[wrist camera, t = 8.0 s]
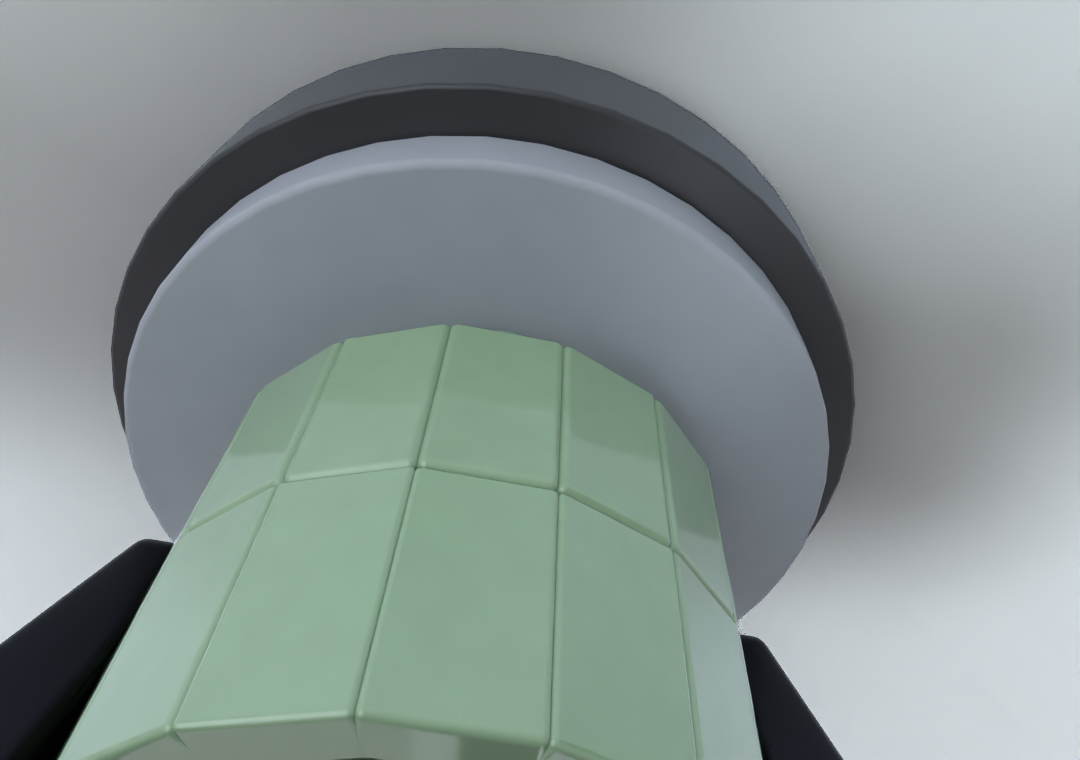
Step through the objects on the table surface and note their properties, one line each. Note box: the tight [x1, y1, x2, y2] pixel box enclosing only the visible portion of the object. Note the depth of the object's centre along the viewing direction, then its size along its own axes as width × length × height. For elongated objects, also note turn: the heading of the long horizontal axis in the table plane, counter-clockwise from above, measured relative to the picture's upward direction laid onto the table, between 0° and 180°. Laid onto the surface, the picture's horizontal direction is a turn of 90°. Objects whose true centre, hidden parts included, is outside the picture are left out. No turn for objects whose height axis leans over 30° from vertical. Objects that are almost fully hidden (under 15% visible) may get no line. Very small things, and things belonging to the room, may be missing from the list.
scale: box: [111, 48, 855, 621], centre depth 11 cm, size 10×10×2 cm
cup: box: [55, 324, 763, 760], centre depth 9 cm, size 6×6×5 cm
